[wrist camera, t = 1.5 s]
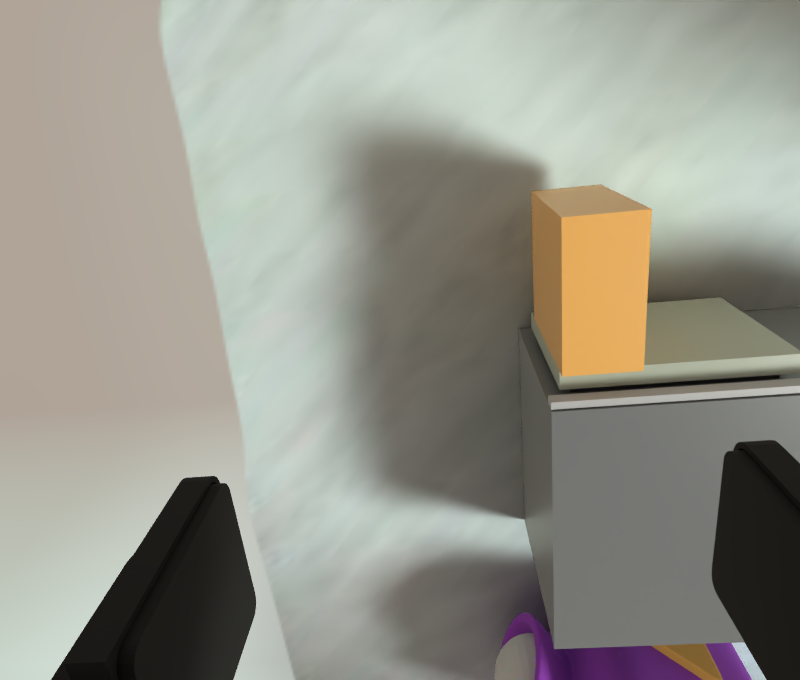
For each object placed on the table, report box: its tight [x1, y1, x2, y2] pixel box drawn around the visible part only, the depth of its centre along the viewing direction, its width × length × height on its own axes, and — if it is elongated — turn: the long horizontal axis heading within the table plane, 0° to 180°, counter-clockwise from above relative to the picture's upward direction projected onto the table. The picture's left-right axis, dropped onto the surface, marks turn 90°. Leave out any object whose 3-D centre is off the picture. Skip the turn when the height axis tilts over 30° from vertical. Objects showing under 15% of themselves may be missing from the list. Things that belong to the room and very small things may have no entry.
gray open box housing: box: [519, 307, 800, 649], centre depth 28 cm, size 22×12×9 cm, turn 96°
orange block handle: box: [531, 185, 800, 390], centre depth 25 cm, size 9×7×8 cm
